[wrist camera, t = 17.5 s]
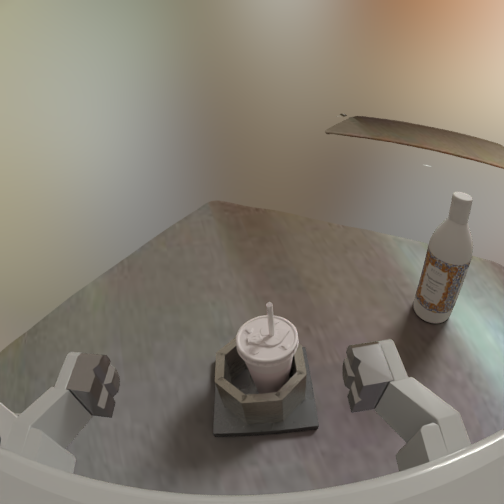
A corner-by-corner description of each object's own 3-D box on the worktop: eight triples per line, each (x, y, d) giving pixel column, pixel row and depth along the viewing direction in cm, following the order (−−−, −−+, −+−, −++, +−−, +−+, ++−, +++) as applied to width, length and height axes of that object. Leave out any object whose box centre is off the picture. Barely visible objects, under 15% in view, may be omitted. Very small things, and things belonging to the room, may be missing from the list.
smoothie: (304, 399, 34) (308, 321, 26) (252, 413, 33) (235, 339, 25) (288, 360, 39) (286, 277, 31) (241, 372, 38) (223, 291, 30)
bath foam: (404, 308, 45) (430, 192, 34) (426, 289, 48) (451, 181, 36) (436, 331, 40) (475, 213, 29) (456, 310, 42) (492, 199, 31)
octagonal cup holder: (214, 436, 31) (202, 413, 28) (218, 359, 41) (209, 328, 38) (318, 428, 31) (322, 404, 27) (305, 351, 41) (306, 319, 37)
